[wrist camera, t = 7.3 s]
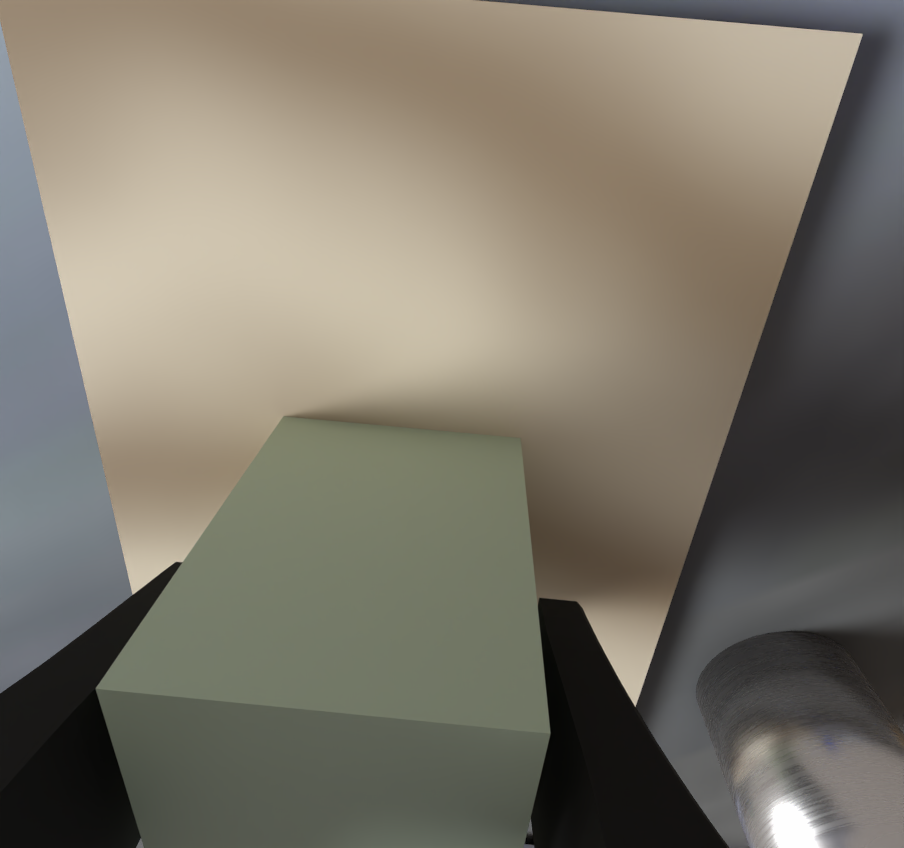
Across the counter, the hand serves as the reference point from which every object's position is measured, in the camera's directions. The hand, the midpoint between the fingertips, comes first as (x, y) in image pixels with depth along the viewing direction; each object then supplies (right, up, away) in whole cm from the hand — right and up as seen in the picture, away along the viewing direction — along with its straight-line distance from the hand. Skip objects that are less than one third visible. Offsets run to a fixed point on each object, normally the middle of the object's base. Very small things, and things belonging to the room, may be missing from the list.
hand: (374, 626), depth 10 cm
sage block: (0, +1, +2) cm, 3 cm away
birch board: (0, +2, +3) cm, 4 cm away
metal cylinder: (+10, -4, +6) cm, 12 cm away
